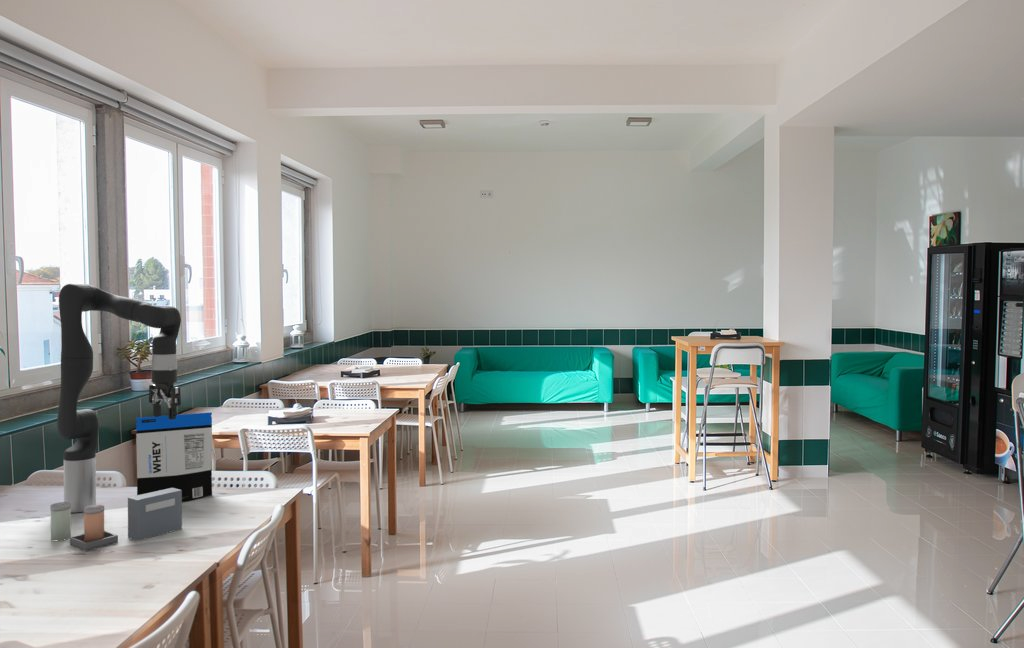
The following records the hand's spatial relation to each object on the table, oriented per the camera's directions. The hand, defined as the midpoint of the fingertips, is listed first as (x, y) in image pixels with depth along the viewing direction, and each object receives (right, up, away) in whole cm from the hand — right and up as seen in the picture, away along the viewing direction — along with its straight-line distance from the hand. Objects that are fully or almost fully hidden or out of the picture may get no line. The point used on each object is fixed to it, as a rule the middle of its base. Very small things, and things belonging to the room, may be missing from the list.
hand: (164, 417), depth 237 cm
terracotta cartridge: (-8, -32, -26) cm, 42 cm away
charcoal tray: (-8, -33, -26) cm, 43 cm away
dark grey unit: (+5, -33, -16) cm, 37 cm away
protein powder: (-6, -32, +20) cm, 38 cm away
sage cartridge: (-20, -33, -22) cm, 44 cm away
